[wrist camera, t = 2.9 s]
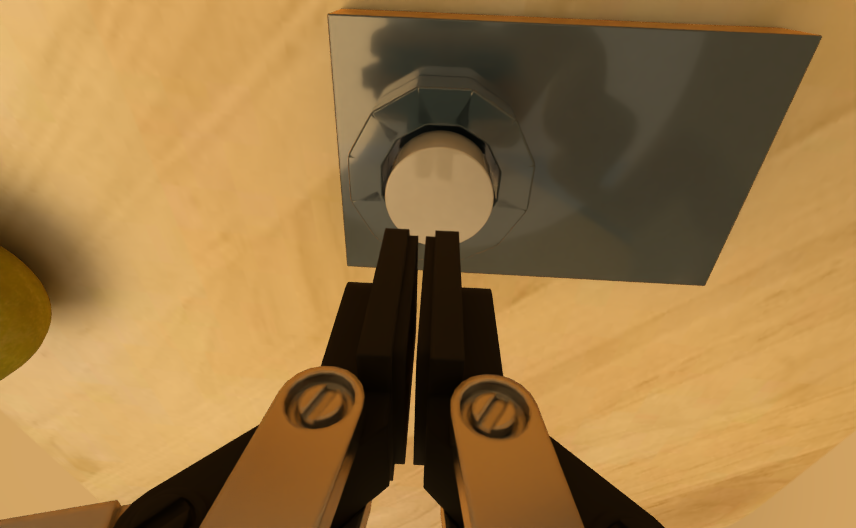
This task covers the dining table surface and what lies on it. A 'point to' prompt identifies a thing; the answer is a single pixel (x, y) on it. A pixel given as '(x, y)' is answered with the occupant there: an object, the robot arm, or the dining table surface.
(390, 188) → the raised round button
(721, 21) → the dining table surface
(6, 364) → the apple
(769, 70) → the grey slab
